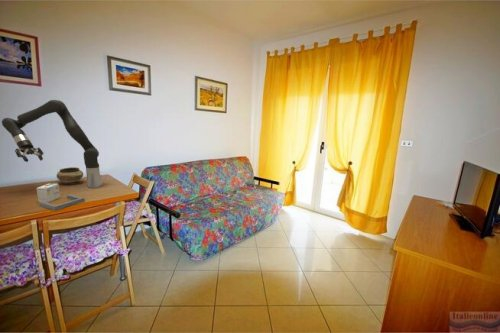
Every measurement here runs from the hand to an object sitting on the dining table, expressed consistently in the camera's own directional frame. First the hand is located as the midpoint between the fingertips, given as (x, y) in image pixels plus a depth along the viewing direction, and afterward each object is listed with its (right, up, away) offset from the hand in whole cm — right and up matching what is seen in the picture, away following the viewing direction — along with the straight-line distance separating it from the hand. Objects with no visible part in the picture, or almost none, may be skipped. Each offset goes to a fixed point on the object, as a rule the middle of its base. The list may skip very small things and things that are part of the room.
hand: (34, 160), depth 156 cm
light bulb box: (+14, -29, -3) cm, 32 cm away
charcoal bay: (+27, -30, -8) cm, 41 cm away
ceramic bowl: (-2, -19, +34) cm, 39 cm away
